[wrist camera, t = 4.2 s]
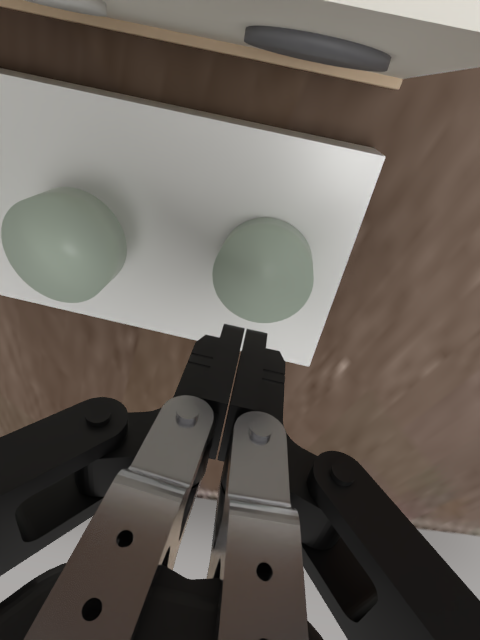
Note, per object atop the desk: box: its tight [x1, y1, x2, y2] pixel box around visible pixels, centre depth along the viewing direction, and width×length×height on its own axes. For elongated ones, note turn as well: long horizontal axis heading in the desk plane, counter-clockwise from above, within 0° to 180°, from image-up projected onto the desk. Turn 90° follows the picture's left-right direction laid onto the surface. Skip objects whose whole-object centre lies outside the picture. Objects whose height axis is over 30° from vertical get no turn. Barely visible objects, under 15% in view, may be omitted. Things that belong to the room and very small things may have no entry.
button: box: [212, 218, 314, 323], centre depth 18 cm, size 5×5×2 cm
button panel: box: [0, 68, 386, 367], centre depth 21 cm, size 26×12×3 cm, turn 80°
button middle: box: [1, 187, 127, 303], centre depth 17 cm, size 5×5×2 cm
